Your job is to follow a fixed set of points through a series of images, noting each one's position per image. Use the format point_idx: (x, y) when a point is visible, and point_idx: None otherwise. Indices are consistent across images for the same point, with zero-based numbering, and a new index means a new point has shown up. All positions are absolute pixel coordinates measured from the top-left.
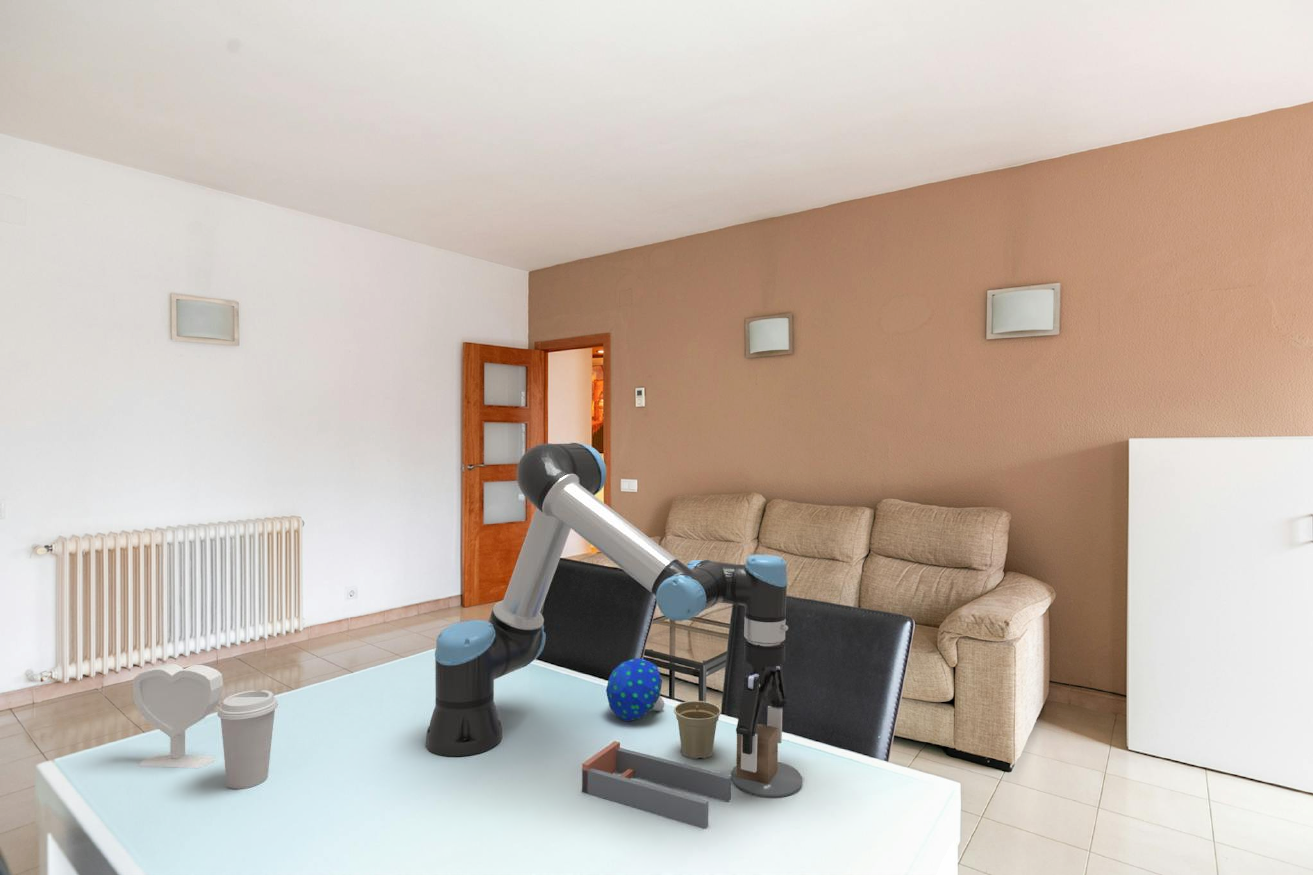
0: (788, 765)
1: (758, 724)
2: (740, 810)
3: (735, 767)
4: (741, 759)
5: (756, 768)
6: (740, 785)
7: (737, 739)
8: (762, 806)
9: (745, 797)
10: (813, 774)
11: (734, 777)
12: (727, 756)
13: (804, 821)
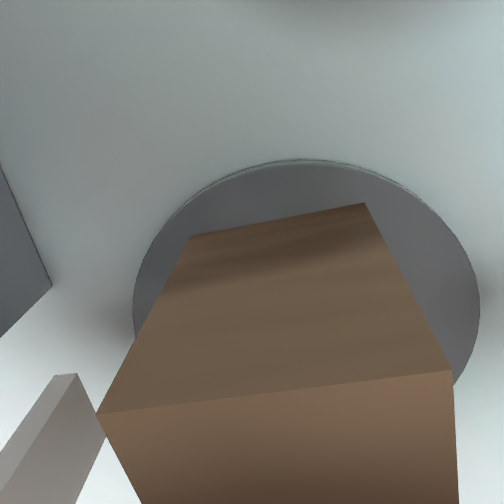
0: (462, 366)
1: (442, 472)
2: (21, 348)
3: (280, 176)
4: (26, 421)
5: (97, 448)
6: (136, 289)
7: (122, 375)
8: (107, 390)
9: (110, 320)
10: (466, 434)
11: (180, 229)
12: (442, 8)
13: (134, 500)
